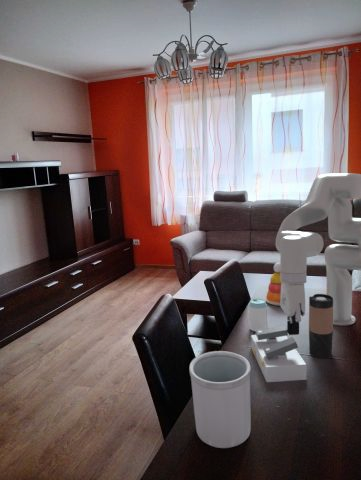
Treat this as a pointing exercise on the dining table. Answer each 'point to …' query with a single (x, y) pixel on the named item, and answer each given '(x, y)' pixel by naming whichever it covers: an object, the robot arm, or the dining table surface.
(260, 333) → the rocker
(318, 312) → the travel mug
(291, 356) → the switch housing
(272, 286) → the stacking toy
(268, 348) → the block
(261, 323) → the can
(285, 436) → the dining table surface
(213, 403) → the utensil holder
